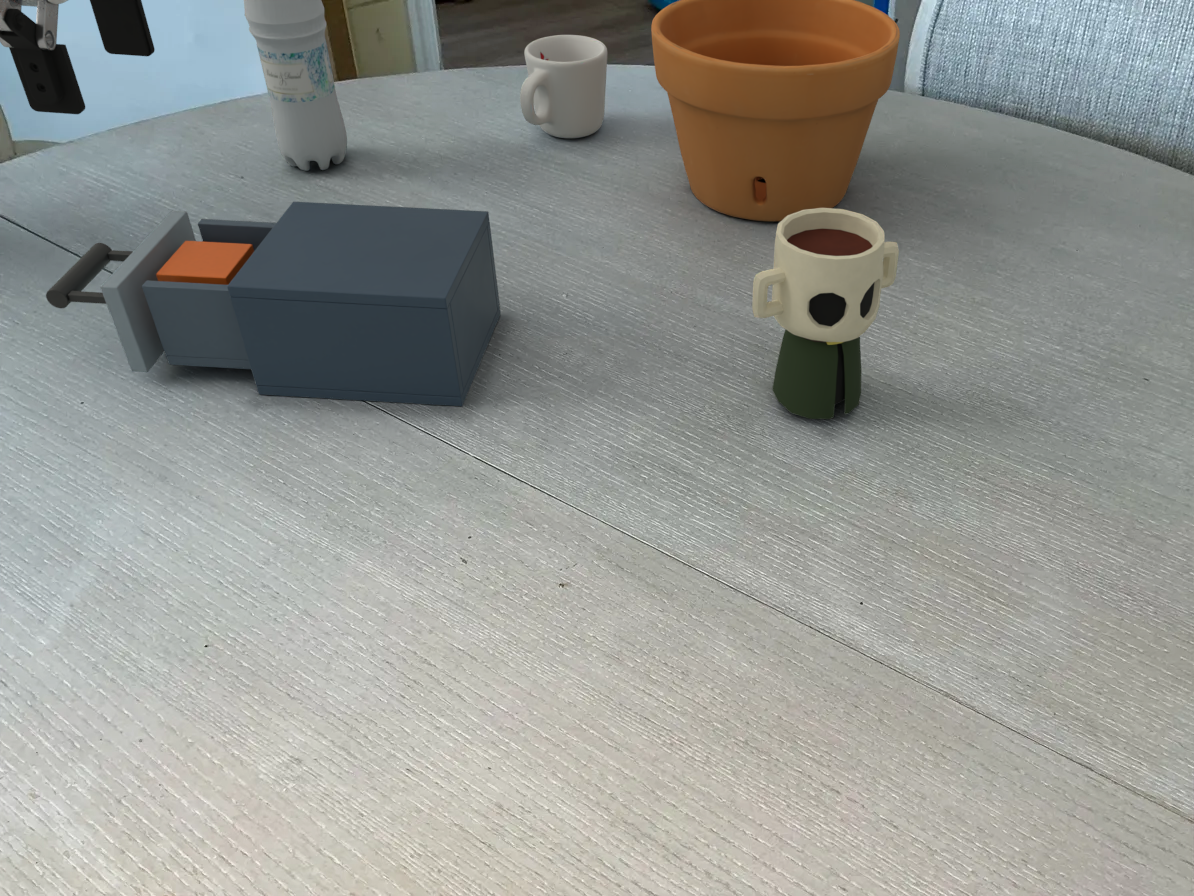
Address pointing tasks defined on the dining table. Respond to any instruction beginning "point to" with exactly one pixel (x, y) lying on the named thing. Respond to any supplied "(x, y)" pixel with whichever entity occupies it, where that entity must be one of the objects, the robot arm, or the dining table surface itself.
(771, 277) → the character mug
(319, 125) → the bottle
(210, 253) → the block
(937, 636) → the dining table surface
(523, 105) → the cup
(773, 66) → the flower pot
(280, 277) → the drawer cabinet
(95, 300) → the drawer
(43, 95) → the robot arm
